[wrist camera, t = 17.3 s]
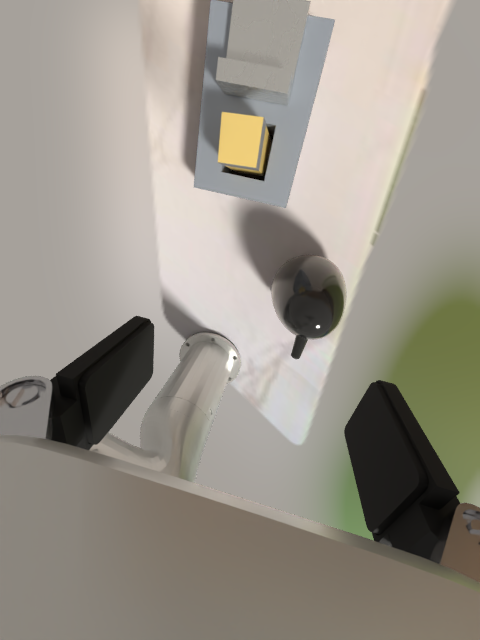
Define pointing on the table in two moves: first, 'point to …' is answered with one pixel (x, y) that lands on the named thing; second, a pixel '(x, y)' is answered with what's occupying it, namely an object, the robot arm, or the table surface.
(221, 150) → the plug
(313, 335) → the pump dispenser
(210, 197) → the table surface
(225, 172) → the socket board
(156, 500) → the robot arm
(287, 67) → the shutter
